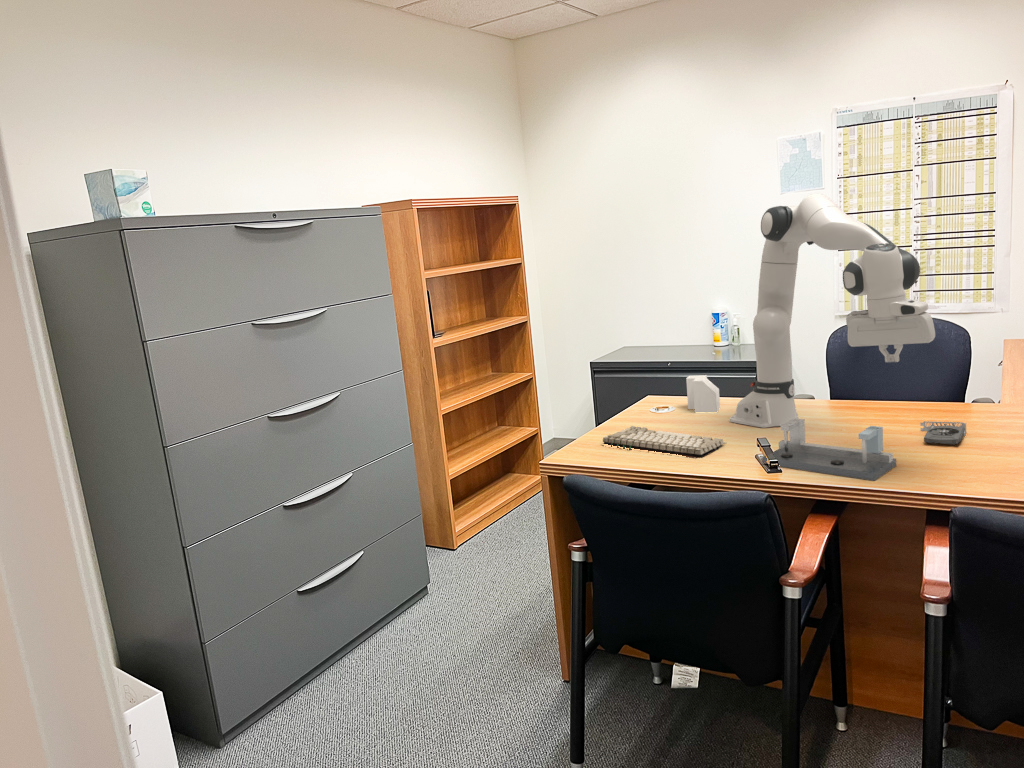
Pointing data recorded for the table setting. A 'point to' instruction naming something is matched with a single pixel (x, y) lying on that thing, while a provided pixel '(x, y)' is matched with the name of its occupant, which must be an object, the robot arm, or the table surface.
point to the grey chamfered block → (702, 394)
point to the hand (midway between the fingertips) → (892, 361)
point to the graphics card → (944, 432)
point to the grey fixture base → (828, 456)
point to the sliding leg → (871, 441)
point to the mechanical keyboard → (664, 442)
